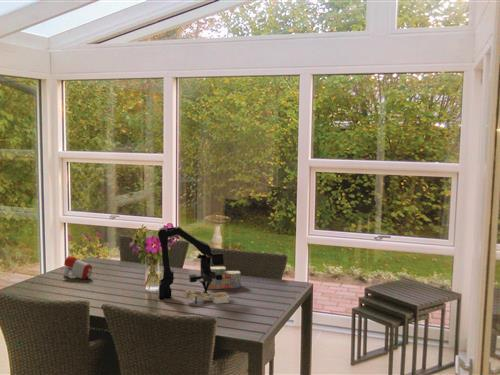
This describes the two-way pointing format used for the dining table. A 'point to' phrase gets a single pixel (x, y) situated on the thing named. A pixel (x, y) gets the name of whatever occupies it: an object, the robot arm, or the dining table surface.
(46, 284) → the dining table surface
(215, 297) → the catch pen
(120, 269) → the dining table surface
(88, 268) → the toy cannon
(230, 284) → the stack of blocks
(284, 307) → the dining table surface
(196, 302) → the fulcrum
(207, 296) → the lever
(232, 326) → the dining table surface
